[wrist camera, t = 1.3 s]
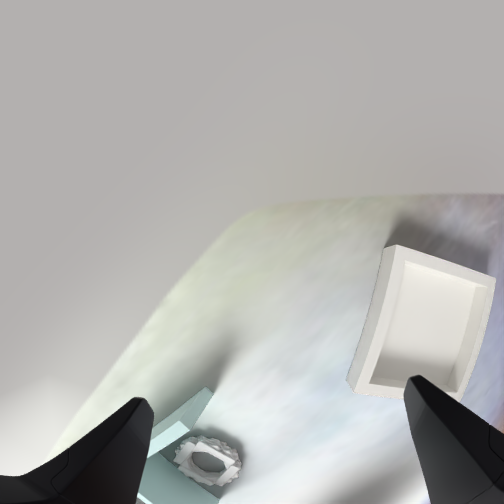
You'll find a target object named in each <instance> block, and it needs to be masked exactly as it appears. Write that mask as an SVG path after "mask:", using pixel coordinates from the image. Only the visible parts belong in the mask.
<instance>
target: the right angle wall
mask: <svg viewBox="0 0 504 504" xmlns="http://www.w3.org/2000/svg"><path fill="white" fill-rule="evenodd" d="M212 396H213V393H212V392H211V391H210V390H209V389H208V388H207V387H206V386H205V387H204V388H203V389H202V390H200V391H199V392H198V393H197V394H196V395H194V396H193V397H192V398H191V399H189V400H188V401H187V402H186V403H184V404H183V405H182V406H181V407H179V408H178V409H177V410H175V411H174V412H173V413H172V414H170V415H169V416H168V417H166V418H165V419H164V420H162V421H161V422H160V423H158V424H157V425H156V426H154V427H153V428H152V434H151V440H150V447H149V452H148V456H147V460H146V463H145V467H144V471H143V475H142V479H141V483H140V487H139V491H138V495H137V497H138V498H139V499H141V500H142V501H143V502H144V503H146V504H218V503H219V500H220V499H218V498H217V497H215V496H214V495H212V494H211V493H209V492H208V491H206V490H205V489H204V488H202V487H201V486H200V485H198V484H197V483H195V482H194V481H193V480H191V479H190V478H189V477H193V478H194V479H195V481H196V482H203V483H204V484H206V485H209V486H212V485H214V484H216V485H218V486H223V485H224V484H225V483H231V482H232V481H233V478H238V477H239V475H238V474H239V471H240V470H241V469H242V468H241V465H242V463H240V462H241V461H240V460H239V459H238V458H239V456H238V454H237V450H236V449H230V447H229V446H227V443H226V442H220V440H218V439H215V438H211V439H208V438H206V437H203V436H202V435H200V436H198V437H197V438H195V437H193V436H191V437H190V438H187V440H182V443H180V447H177V450H175V454H176V457H175V458H174V459H173V461H174V462H176V463H178V464H180V466H179V467H178V468H176V467H175V466H174V465H173V464H172V463H170V462H169V461H168V460H167V459H166V458H165V457H163V456H162V455H161V454H160V453H159V452H158V451H160V450H161V449H163V448H164V447H166V446H167V445H169V444H170V443H172V442H174V441H175V440H177V439H178V438H180V437H181V436H183V435H184V434H185V433H187V432H188V431H190V430H191V428H192V427H193V425H194V424H195V422H196V421H197V419H198V418H199V416H200V415H201V413H202V411H203V410H204V408H205V407H206V405H207V404H208V402H209V401H210V399H211V398H212ZM193 452H208V453H209V454H211V455H213V456H215V457H217V458H218V459H220V460H222V461H224V464H225V467H226V468H225V469H224V470H223V471H221V472H210V471H203V470H201V469H200V468H199V467H198V466H196V465H195V464H194V463H193V459H192V453H193ZM181 471H182V472H181ZM183 472H184V473H183Z"/></svg>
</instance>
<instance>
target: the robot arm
mask: <svg viewBox="0 0 504 504" xmlns="http://www.w3.org/2000/svg"><path fill="white" fill-rule="evenodd" d="M403 397H404V402H405V407H406V411H407V416H408V420H409V425H410V430H411V435H412V438H413V441H414V444H415V448H416V451H417V454H418V457H419V461H420V464H421V468H422V471H423V475H424V478H425V482H426V486H427V490H428V494H429V498H430V502H431V504H504V434H503V433H502V432H500V431H499V430H497V429H496V428H494V427H493V426H492V425H489V423H487V422H486V421H485V420H483V419H482V418H480V417H479V416H478V415H476V414H475V413H473V412H472V411H471V410H469V409H468V408H466V407H465V406H464V405H462V404H461V403H459V402H458V401H457V400H455V399H454V398H452V397H451V396H450V395H448V394H447V393H445V392H444V391H443V390H441V389H440V388H438V387H437V386H436V385H434V384H433V383H431V382H430V381H429V380H427V379H426V378H424V377H423V376H422V375H415V376H411V377H409V378H408V380H407V383H406V387H405V390H404V394H403ZM153 421H154V412H153V410H152V408H151V407H150V405H149V404H148V402H147V400H146V399H145V398H141V397H134V398H132V399H131V400H130V401H128V402H127V403H126V404H125V405H123V406H122V407H121V408H120V409H118V410H117V411H116V412H115V413H113V414H112V415H111V416H110V417H108V418H107V419H106V420H104V421H103V422H102V423H101V424H99V425H98V426H97V427H95V428H94V429H93V430H91V431H90V432H89V433H88V434H86V435H85V436H84V437H82V438H81V439H80V440H78V441H77V442H76V443H74V444H73V445H72V446H70V448H67V449H66V450H65V451H63V452H62V453H61V454H59V455H58V456H56V457H55V458H53V459H52V460H50V461H48V462H47V463H45V464H43V465H41V466H40V467H38V468H36V469H34V470H32V471H30V472H28V473H27V474H24V475H21V476H3V475H0V504H135V503H136V499H137V495H138V491H139V487H140V483H141V479H142V475H143V471H144V467H145V463H146V460H147V456H148V452H149V447H150V440H151V434H152V427H153Z"/></svg>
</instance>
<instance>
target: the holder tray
mask: <svg viewBox="0 0 504 504" xmlns="http://www.w3.org/2000/svg"><path fill="white" fill-rule="evenodd" d="M495 284H496V278H494V277H491V276H488V275H486V274H483V273H480V272H477V271H475V270H472V269H469V268H466V267H464V266H461V265H458V264H455V263H452V262H449V261H446V260H443V259H440V258H437V257H434V256H431V255H428V254H425V253H422V252H419V251H416V250H413V249H410V248H407V247H403V246H400V245H397V244H396V245H393V246H390V247H386V248H384V249H383V254H382V259H381V263H380V268H379V272H378V277H377V281H376V285H375V289H374V293H373V297H372V300H371V304H370V308H369V311H368V315H367V318H366V322H365V325H364V328H363V332H362V335H361V338H360V341H359V344H358V347H357V350H356V353H355V356H354V359H353V362H352V365H351V367H350V370H349V373H348V376H347V378H346V381H347V383H348V384H349V386H350V388H351V390H352V392H353V393H357V394H364V395H371V396H379V397H387V398H396V399H404V397H403V394H404V390H405V387H406V383H407V380H408V378H409V377H411V376H415V375H422V376H423V377H424V378H426V379H427V380H429V381H430V382H431V383H433V384H434V385H436V386H437V387H438V388H440V389H441V390H443V391H444V392H445V393H447V394H448V395H450V396H451V397H452V398H454V399H455V400H457V401H458V402H460V401H461V399H462V396H463V394H464V392H465V389H466V387H467V384H468V382H469V379H470V377H471V374H472V371H473V369H474V366H475V363H476V360H477V357H478V354H479V351H480V348H481V344H482V341H483V338H484V334H485V330H486V326H487V323H488V318H489V314H490V310H491V305H492V300H493V295H494V290H495Z"/></svg>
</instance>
